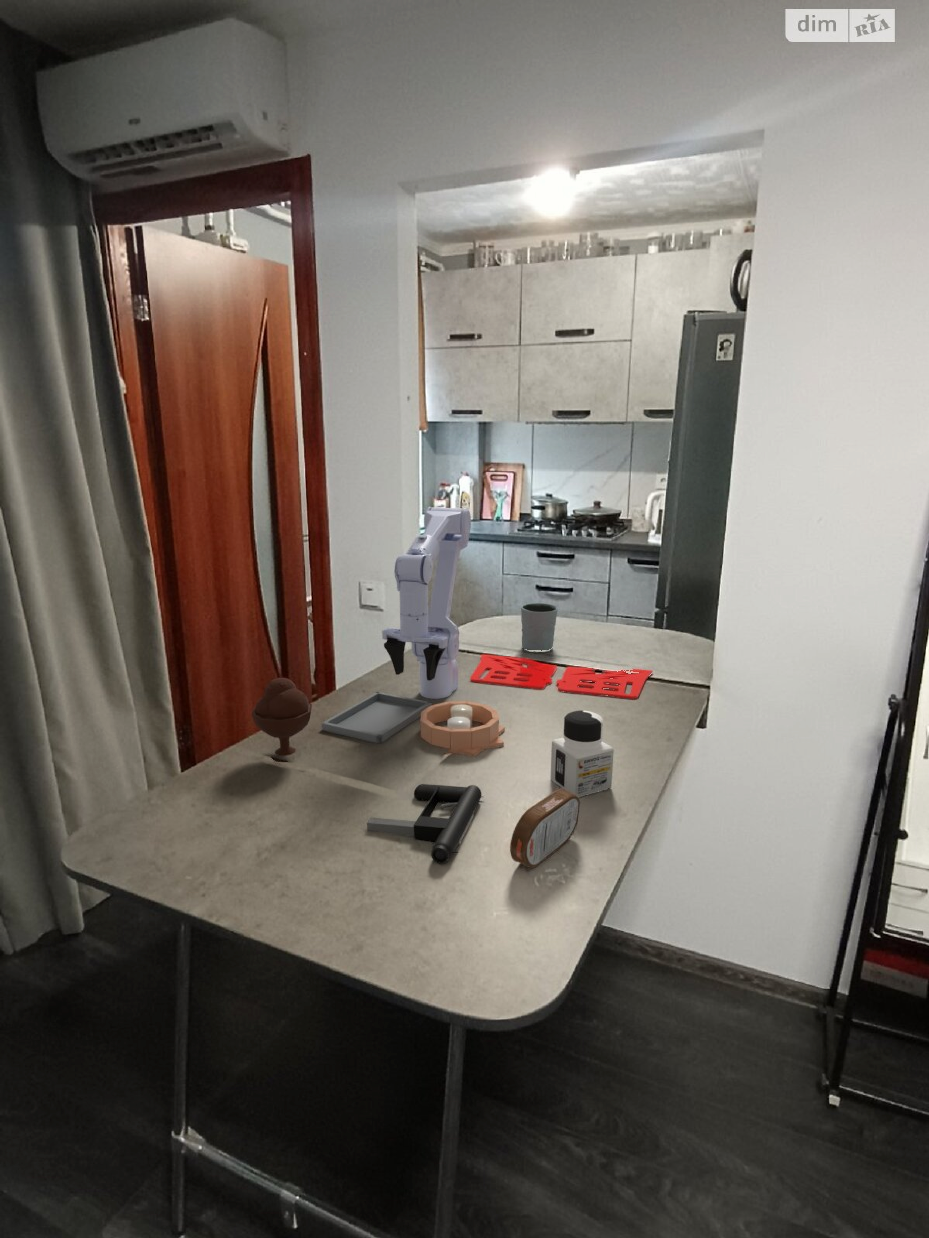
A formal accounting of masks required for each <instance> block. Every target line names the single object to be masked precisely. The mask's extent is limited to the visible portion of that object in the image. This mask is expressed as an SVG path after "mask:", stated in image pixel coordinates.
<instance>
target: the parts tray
mask: <svg viewBox="0 0 929 1238" xmlns="http://www.w3.org/2000/svg"><path fill="white" fill-rule="evenodd" d="M431 705H433V704H432V702H431V701H427V700H426V701H425V700H421V699H417V698H412V697H411V698H410V697H407V696H401V695H395V694H391V693H386V692H380V691H376V692H374V693H373V694H371V695H369V696H367V697H366V698H363V699H362V700H360V701H358V702H356V703H355V704H353V705H351V706H349V707H347V708H346V709H344V710H342V711H340V712H339V713H336V714H334V715H333V716H332V717H330V718H328V719H326V720H325V721H323V722H321V730H322V731H324V732H327V733H332V734H337V735H341V736H345V737H349V738H352V739H359V740H361V741H365V742H366V741H367V742H369V743H370V742H371V743H375V744H380V745H381V744H382V743H384V742H385V741H387V740H389V738H391V737H392V736H394V735H395V734H397V733H399V732H401V730H403V729H404V728H406V727H407V726H409V725H410V724H412V723H413V722H415V721H416V720H418V719H420V718H421V712H422V711H423V710H425V709H426V708H428V707H429V706H431Z"/></svg>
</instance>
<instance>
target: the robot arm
mask: <svg viewBox="0 0 929 1238" xmlns="http://www.w3.org/2000/svg"><path fill="white" fill-rule="evenodd" d="M471 518H472V517H471V512H470V510H469V509H468V508H467V507H463V508H461V507H459V508H458V507H435V506H434V507H433V506H428V507H427V509H426V510H425V512H424V515H423V527H424V532H423V534H419V535H418V536H417V537H415V538H414V540H413V541H412V543H411V545H410V546H409V548H408V550H407V551H406V553H402V554H401V555H400V556H397V558H396V559H395V563H394V578H395V582H396V589H397V591H398V592H399V622H400V623H399V625H400V628H389V627H387V628H384V629H383V630H382V632H381V633H382V635H381V637H382V638H381V639H382V640H386V642H384V643H383V648H384V649H385V650H386V652H387V654H388V656H389V658H390V660H391V664H392V666H393V668H394V674H395V675H396V676H398V675H400V674H403V673H404V671H405V670H404V668H405V648H406V643H410V644H411V645H410V646H411V652H412V654H413V656H414V657H415V658H416V659H417V662H419V694H420V696H421V697H424V698H426V699H435V700H436V699H444V698H447V697H449V696H451V695H452V693H453V692H454V691H456V690H458V689H459V664H458V662H457V660H456V658H457V657H458V655H459V650H460V631H459V626H457V625H456V623H454V622H453V621H452V620H451V619H450V616H451V608H452V603H453V595H454V589H455V581H456V575H457V568H458V562H459V557H460V554H461V551H462V550H464V549H465V548H467V547H468V543H469V541H470V533H471V528H472V527H471V526H472V521H471V520H472V519H471ZM436 558H437V561H436V567H435V573H434V579H433V586H432V592H431V597H430V598H431V599H430V605H429V583H430V582H431V578H432V573H433V569H434V562H435V560H436Z"/></svg>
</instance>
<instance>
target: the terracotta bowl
mask: <svg viewBox="0 0 929 1238" xmlns="http://www.w3.org/2000/svg"><path fill="white" fill-rule="evenodd" d="M454 705H469V706H471V707H472V722H473V721H474V722H478V723H480V724H479V725H478V726H475V727H472V728H471V729H449V728H448V727H445V726H444V727H443V726H440V725H436V724H437V723H441V722H446V721H448V719H450V718H451V707H452V706H454ZM499 722H500V718H499V714H498V711H497V710H496V709H494V708H492V707H491V706H488V705H487V704H485V703H479V702H473V701H469V700H468V701H467V700H465V701H463V700H462V701H461V700H460V701H459V700H458V701H452V700H451V701H445V702H440V703H436V704H432V705H431V706H429V707H428V708H426V709H425V710H423V711H422V712H421V717H420V738H422V739H423V740H425V741H426V742H427V743H428V744H430V745H432V746H437V747H441V748H445V749H447V751H446V752H444V753H443V755H448V754H459V755H460V754H461V755H464V756H467V757H468V756H469V757H474V758H476V757H477V756H478V755H479V754H480V753H481V752H482V751H484V749H485V750H488V749H491V748H492V749H493V747H494V748H500V746H501V747H504V746H505V742H504V741H503V740H502V739H501V738H500V735H502V734H503V733H504V732H505V730H506V727H505V726H503V725H500V723H499ZM502 732H503V733H502ZM501 733H502V734H501Z"/></svg>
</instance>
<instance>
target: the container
mask: <svg viewBox="0 0 929 1238" xmlns="http://www.w3.org/2000/svg"><path fill="white" fill-rule="evenodd" d="M603 730H604V719H603V717H602V716H601V715H600V714H598V713H595V712H593V711H590V710H581V709H580V710H575V711H570V712H568V713H566V715H565V716H564V718H563V737H561V738H560V737H559V738H555V739H552V741H551V750H550V752H551V753H550V754H551V755H550V756H551V757H550V780H551V781H552V782H553V783H554V784H556V785H557V786H558V787H560V789H565V790H566V791H568V792H570V793H572V794H574V795H576V796H577V797H578V798H579V799H580V798H581V797H586V796H589V795H588V794H590V795H593V794H596V792H597V793H599V792H598V791H600V792H603V791H602V790H604V791H607V790H606V789H608V788H610V789H611V788H612V783H613V782H612V780H613V766H614V765H613V764H614V751H615V750H614V747H612V746H611V745H609V744H607V743H606V742H604V741H603V734H604V731H603ZM608 790H609V789H608ZM585 795H586V796H585Z"/></svg>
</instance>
